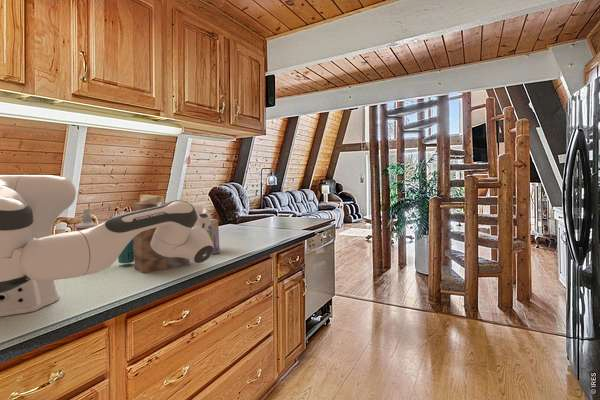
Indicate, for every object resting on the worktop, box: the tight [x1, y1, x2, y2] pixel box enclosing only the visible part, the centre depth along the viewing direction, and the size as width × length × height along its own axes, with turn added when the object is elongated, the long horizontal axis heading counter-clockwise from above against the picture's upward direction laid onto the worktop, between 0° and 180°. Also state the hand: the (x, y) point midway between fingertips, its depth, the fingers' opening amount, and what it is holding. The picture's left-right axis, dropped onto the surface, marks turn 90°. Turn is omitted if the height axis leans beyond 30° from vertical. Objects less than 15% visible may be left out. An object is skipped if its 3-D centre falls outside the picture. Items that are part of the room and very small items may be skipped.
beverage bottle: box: [117, 238, 134, 264], centre depth 148 cm, size 6×7×20 cm
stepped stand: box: [132, 201, 191, 274], centre depth 145 cm, size 20×10×28 cm, turn 132°
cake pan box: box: [206, 218, 221, 255], centre depth 176 cm, size 19×5×18 cm, turn 48°
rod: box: [139, 194, 165, 205], centre depth 139 cm, size 3×20×3 cm, turn 42°
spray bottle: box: [75, 208, 99, 231], centre depth 145 cm, size 8×8×25 cm
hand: (172, 203), depth 124 cm, fingers open, 8 cm apart
